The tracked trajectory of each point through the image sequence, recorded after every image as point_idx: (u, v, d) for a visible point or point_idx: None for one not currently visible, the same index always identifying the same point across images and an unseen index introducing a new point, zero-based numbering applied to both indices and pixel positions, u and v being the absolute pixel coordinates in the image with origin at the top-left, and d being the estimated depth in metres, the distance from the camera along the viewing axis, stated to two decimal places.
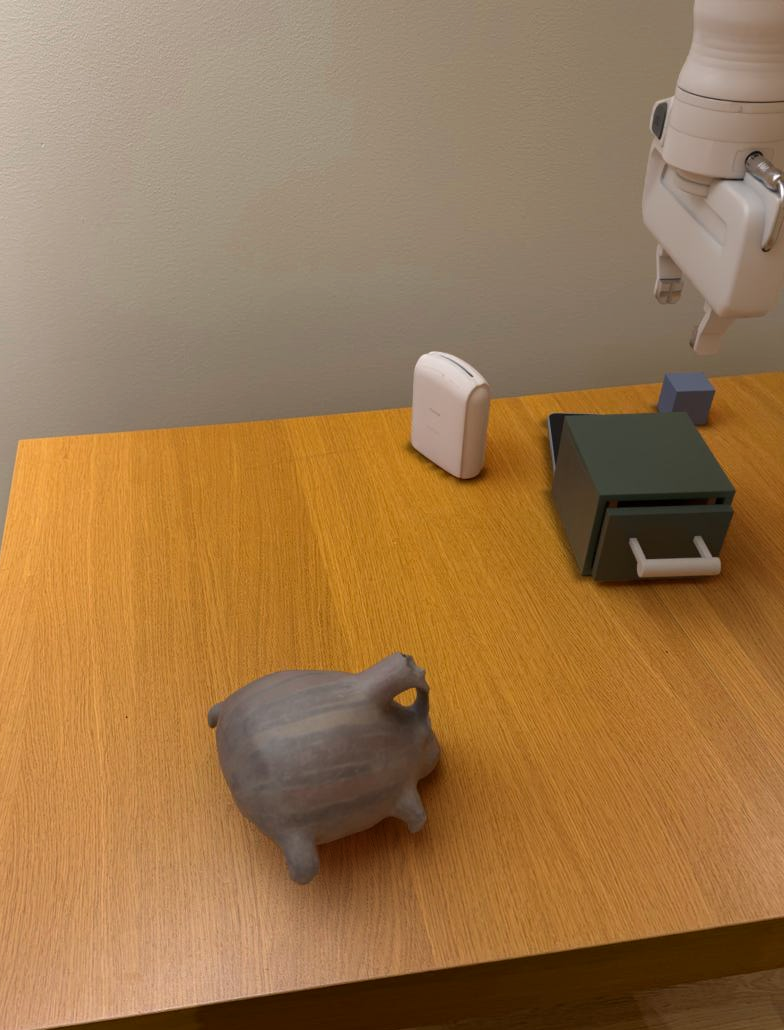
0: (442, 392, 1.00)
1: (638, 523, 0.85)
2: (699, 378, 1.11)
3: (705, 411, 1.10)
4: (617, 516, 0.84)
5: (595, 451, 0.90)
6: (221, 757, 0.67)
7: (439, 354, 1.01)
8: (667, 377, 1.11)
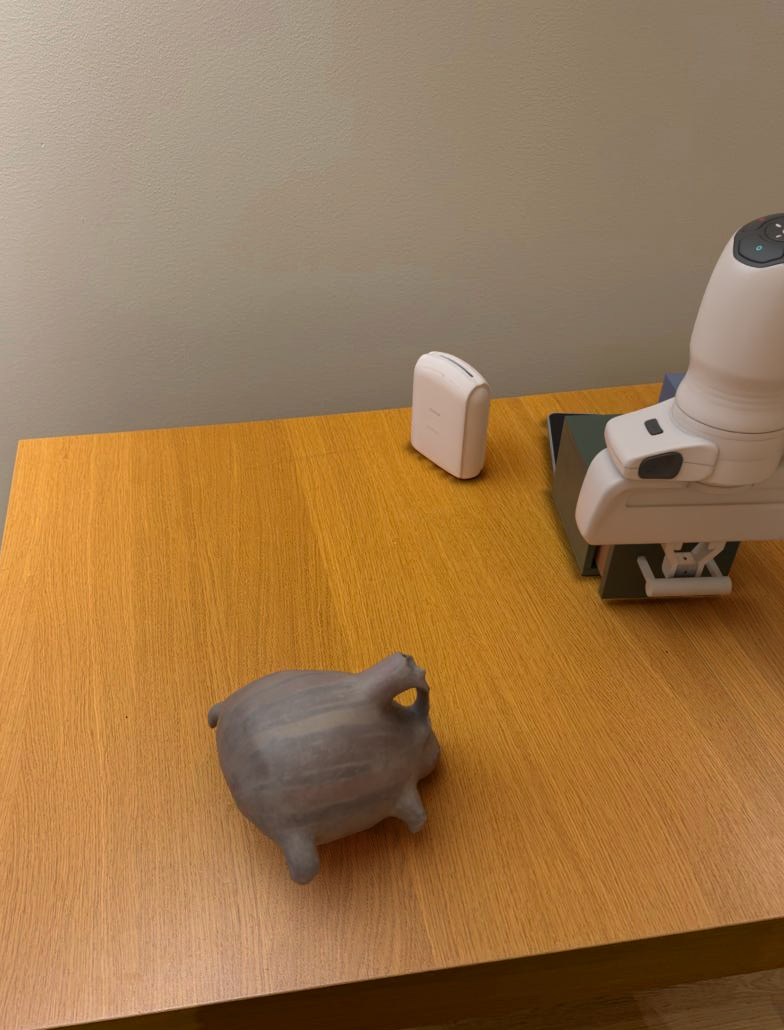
0: (442, 392, 1.00)
1: None
2: None
3: None
4: None
5: (595, 451, 0.90)
6: (221, 757, 0.67)
7: (439, 354, 1.01)
8: (667, 377, 1.11)
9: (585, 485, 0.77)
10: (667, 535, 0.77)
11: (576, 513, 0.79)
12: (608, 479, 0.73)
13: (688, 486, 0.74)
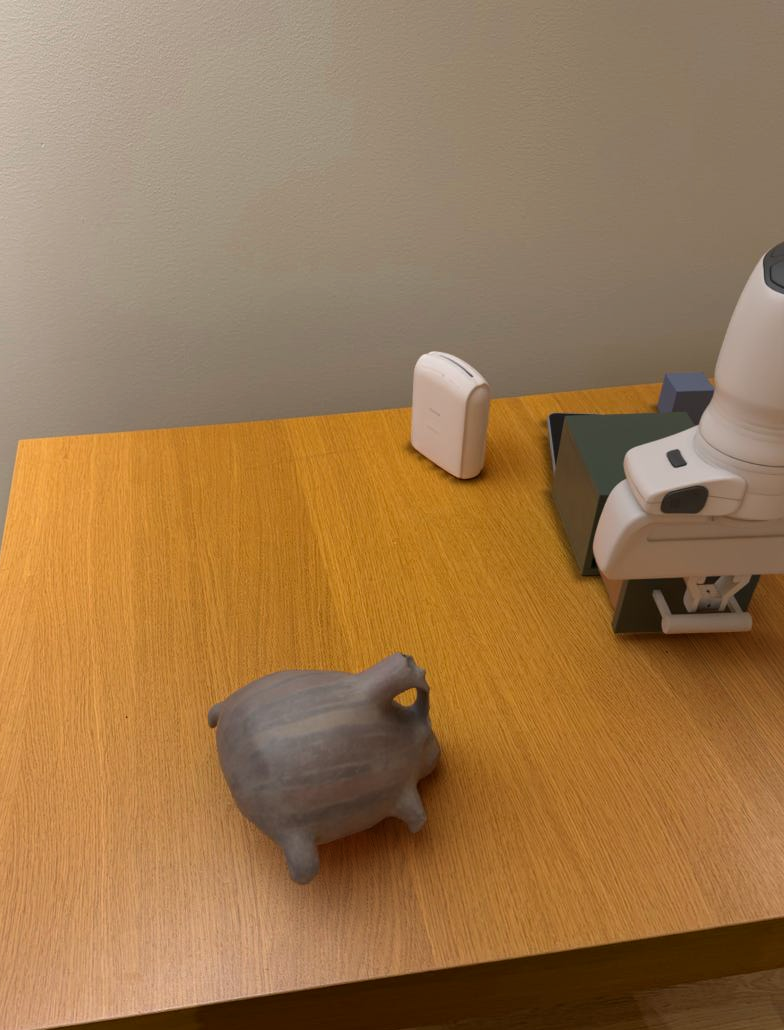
0: (442, 392, 1.00)
1: None
2: (699, 378, 1.11)
3: None
4: None
5: (595, 451, 0.90)
6: (221, 757, 0.67)
7: (439, 354, 1.01)
8: (667, 377, 1.11)
9: (603, 517, 0.73)
10: (690, 569, 0.73)
11: (594, 546, 0.75)
12: (628, 514, 0.70)
13: (713, 519, 0.70)
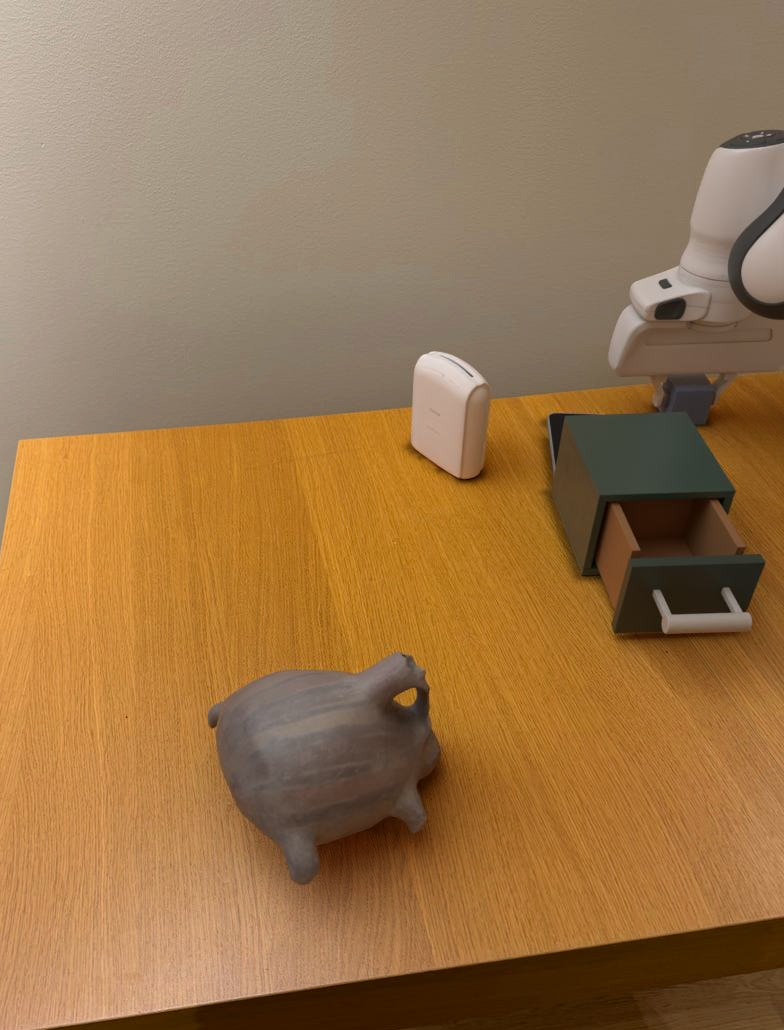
0: (442, 392, 1.00)
1: (663, 575, 0.79)
2: (699, 378, 1.11)
3: (705, 411, 1.10)
4: (640, 567, 0.79)
5: (595, 451, 0.90)
6: (221, 757, 0.67)
7: (439, 354, 1.01)
8: (667, 377, 1.11)
9: (615, 332, 1.07)
10: (674, 368, 1.07)
11: (608, 355, 1.09)
12: (633, 323, 1.03)
13: (689, 328, 1.04)
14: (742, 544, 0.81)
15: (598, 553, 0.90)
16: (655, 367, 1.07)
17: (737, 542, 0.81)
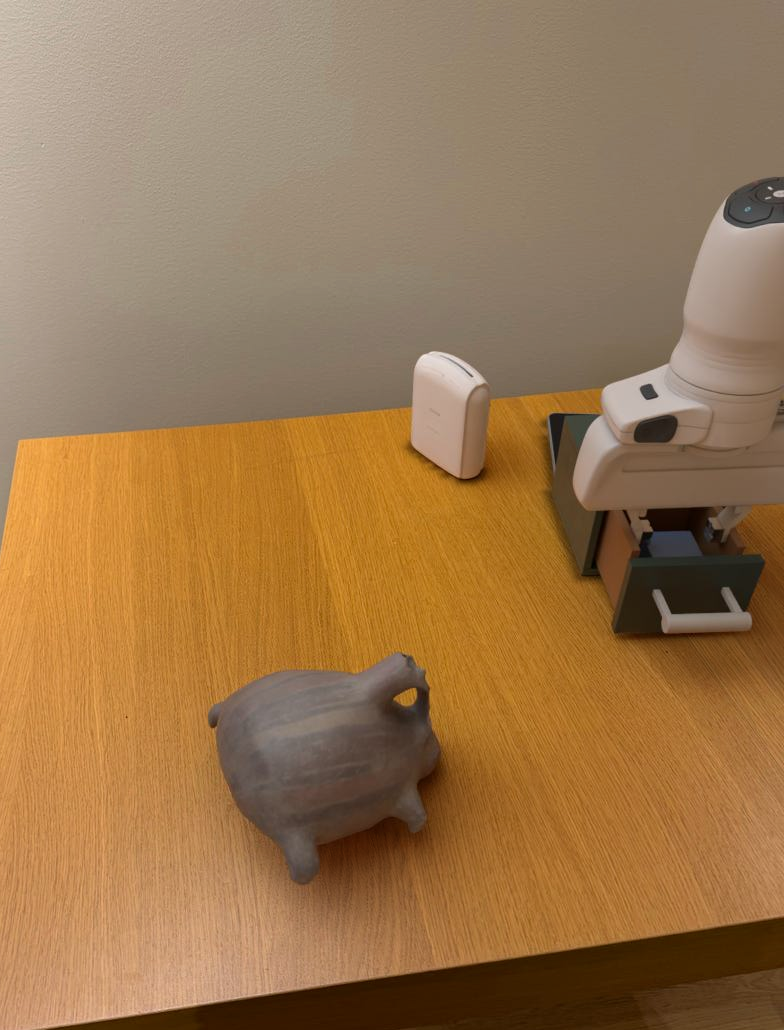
0: (442, 392, 1.00)
1: (663, 575, 0.79)
2: (685, 541, 0.84)
3: None
4: (640, 567, 0.79)
5: None
6: (221, 757, 0.67)
7: (439, 354, 1.01)
8: None
9: (582, 451, 0.78)
10: (663, 500, 0.78)
11: (573, 480, 0.80)
12: (604, 444, 0.75)
13: (683, 450, 0.75)
14: (742, 544, 0.81)
15: (598, 553, 0.90)
16: (636, 499, 0.78)
17: (737, 542, 0.81)
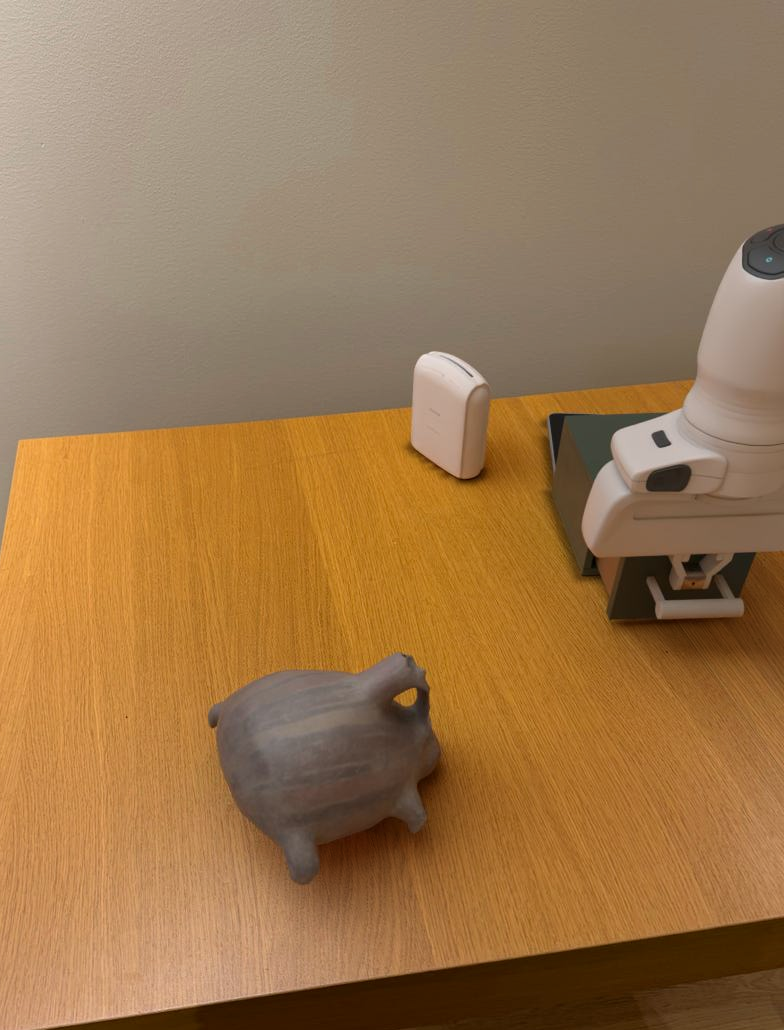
0: (442, 392, 1.00)
1: (656, 562, 0.81)
2: None
3: None
4: None
5: (595, 451, 0.90)
6: (221, 757, 0.67)
7: (439, 354, 1.01)
8: None
9: (591, 497, 0.76)
10: (675, 547, 0.76)
11: (582, 525, 0.78)
12: (615, 492, 0.73)
13: (696, 498, 0.73)
14: None
15: None
16: (647, 546, 0.76)
17: None
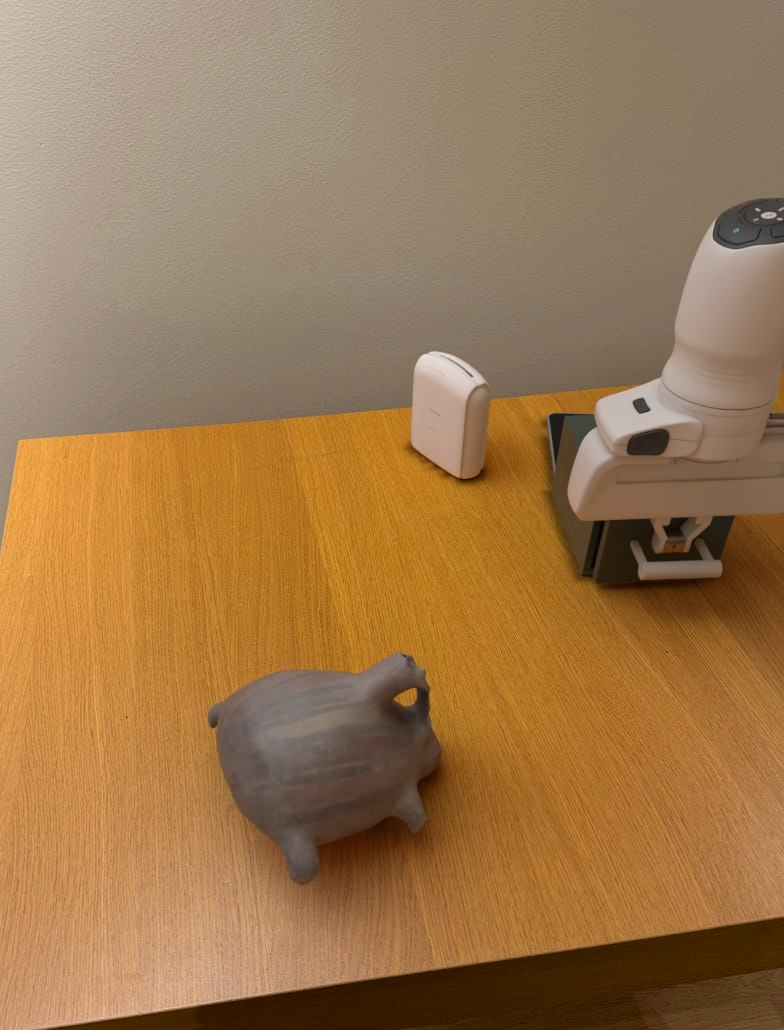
0: (442, 392, 1.00)
1: (640, 526, 0.84)
2: None
3: None
4: None
5: None
6: (221, 757, 0.67)
7: (439, 354, 1.01)
8: None
9: (576, 463, 0.80)
10: (656, 510, 0.80)
11: (568, 491, 0.82)
12: (598, 457, 0.76)
13: (675, 462, 0.77)
14: None
15: None
16: (630, 510, 0.80)
17: None
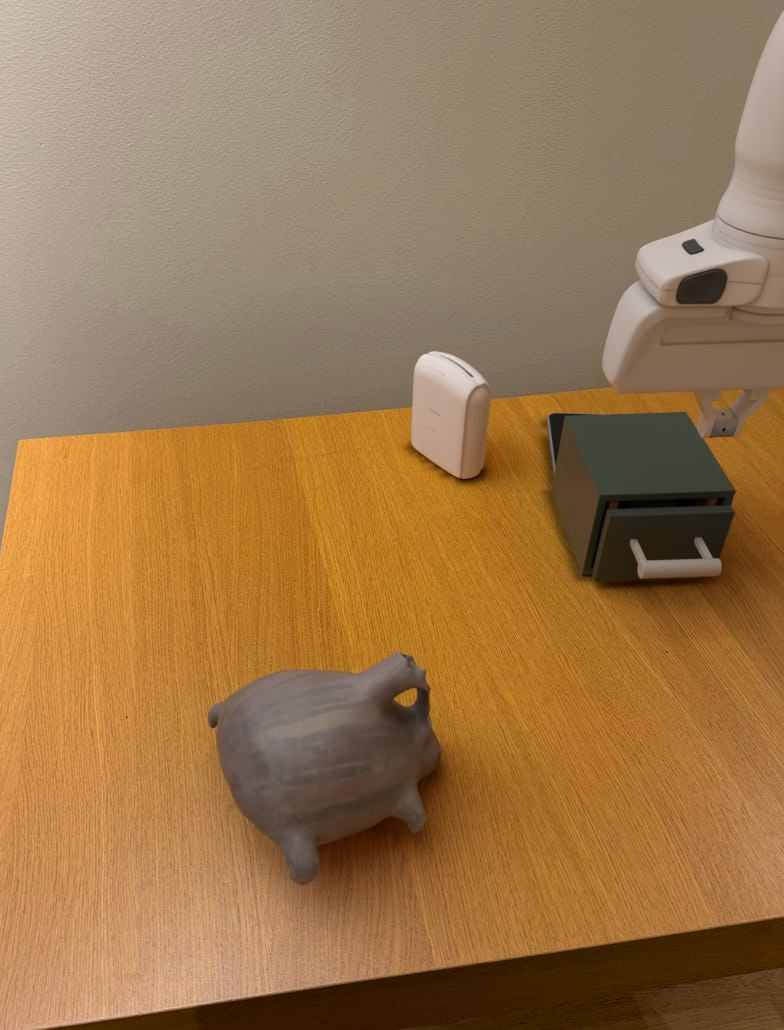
0: (442, 392, 1.00)
1: (639, 524, 0.85)
2: None
3: None
4: (617, 517, 0.84)
5: (595, 451, 0.90)
6: (221, 757, 0.67)
7: (439, 354, 1.01)
8: None
9: (613, 325, 0.69)
10: (705, 380, 0.69)
11: (603, 361, 0.71)
12: (641, 310, 0.65)
13: (731, 317, 0.66)
14: None
15: None
16: (675, 379, 0.69)
17: None
